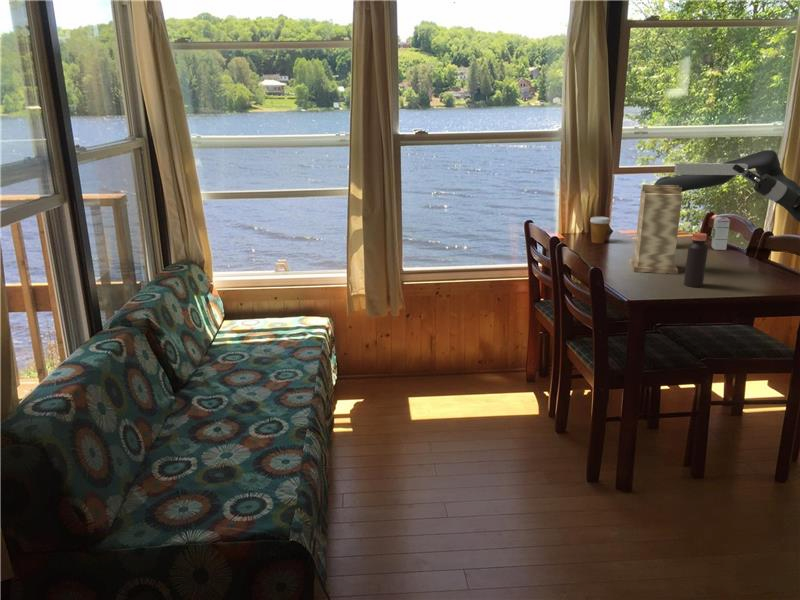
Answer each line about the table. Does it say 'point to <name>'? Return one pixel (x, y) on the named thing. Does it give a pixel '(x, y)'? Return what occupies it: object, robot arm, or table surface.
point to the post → (657, 229)
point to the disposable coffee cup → (599, 229)
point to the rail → (706, 169)
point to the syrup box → (720, 233)
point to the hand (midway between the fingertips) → (732, 165)
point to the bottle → (696, 261)
